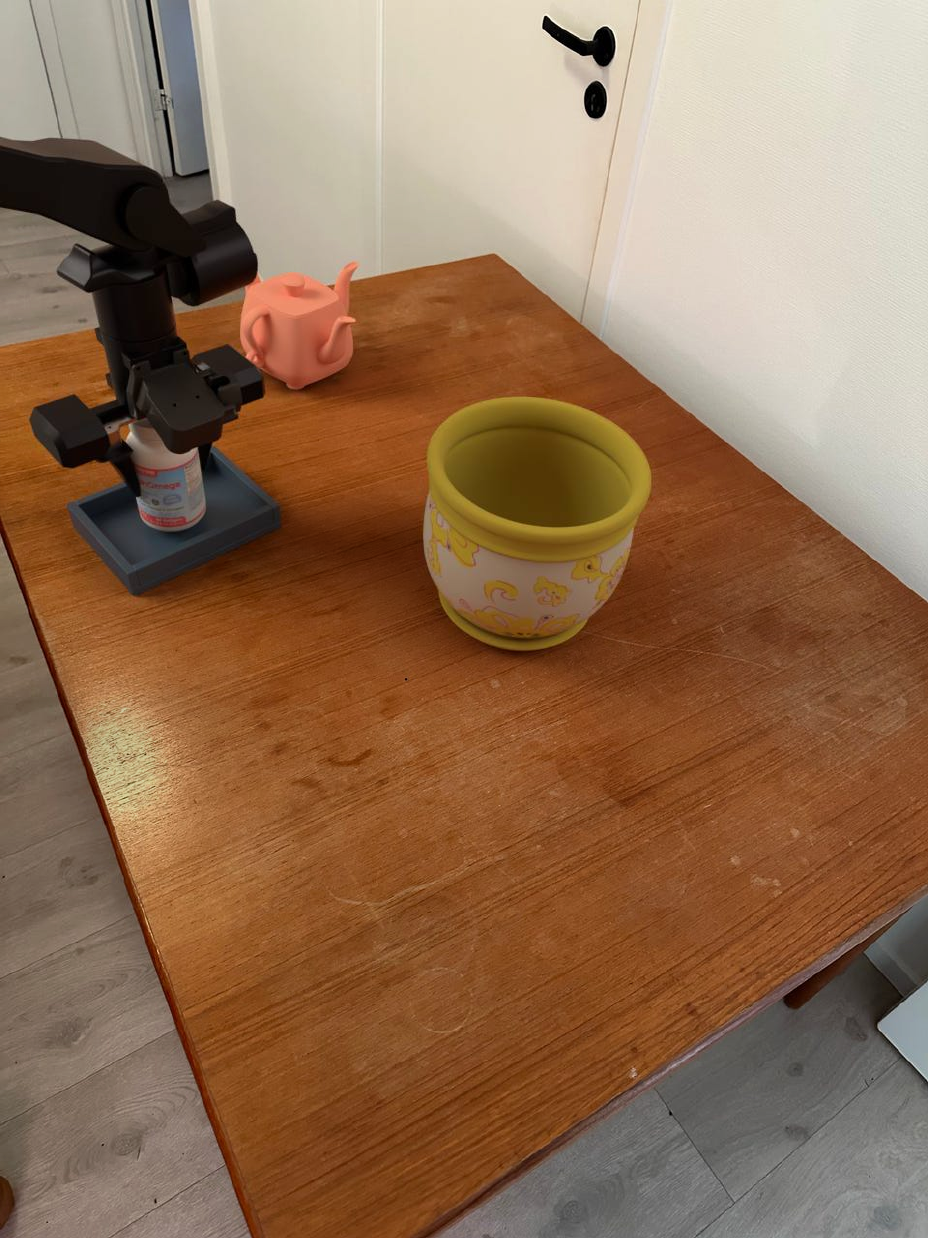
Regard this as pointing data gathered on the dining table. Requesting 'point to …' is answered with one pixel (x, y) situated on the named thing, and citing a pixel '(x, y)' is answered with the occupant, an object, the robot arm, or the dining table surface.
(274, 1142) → the dining table surface
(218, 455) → the tray
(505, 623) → the flowerpot
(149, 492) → the pill bottle
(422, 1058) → the dining table surface
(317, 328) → the teapot
